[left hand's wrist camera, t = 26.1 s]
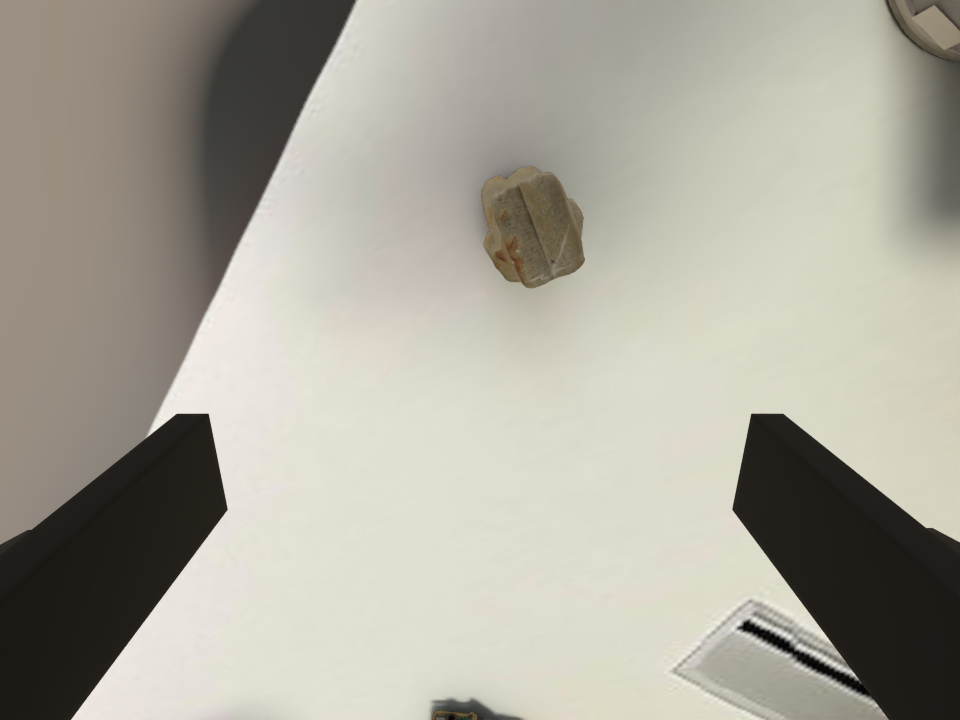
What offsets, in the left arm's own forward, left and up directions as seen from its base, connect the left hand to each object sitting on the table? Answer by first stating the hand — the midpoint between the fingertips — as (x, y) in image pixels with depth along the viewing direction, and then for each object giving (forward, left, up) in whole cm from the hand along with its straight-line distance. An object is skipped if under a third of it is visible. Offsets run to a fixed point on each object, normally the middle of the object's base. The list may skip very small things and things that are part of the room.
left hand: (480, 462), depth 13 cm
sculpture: (-4, +1, -28) cm, 29 cm away
